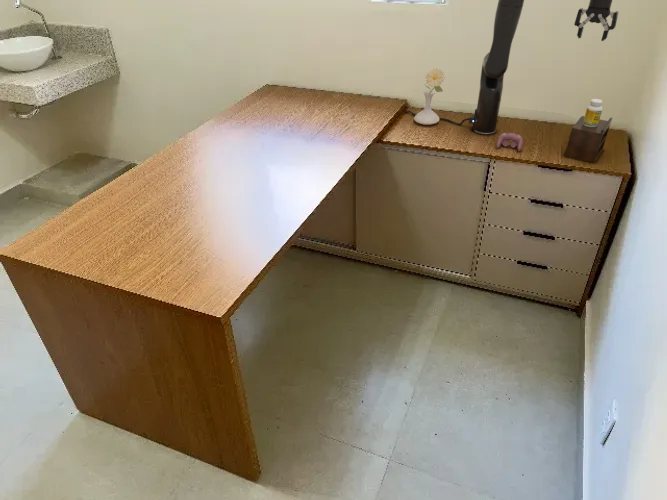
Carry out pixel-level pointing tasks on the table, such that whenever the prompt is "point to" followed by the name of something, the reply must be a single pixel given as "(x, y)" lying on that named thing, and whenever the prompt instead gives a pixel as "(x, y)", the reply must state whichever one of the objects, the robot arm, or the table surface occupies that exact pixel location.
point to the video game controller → (513, 137)
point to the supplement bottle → (593, 113)
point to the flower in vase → (430, 97)
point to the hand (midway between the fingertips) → (590, 39)
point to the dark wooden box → (587, 140)
